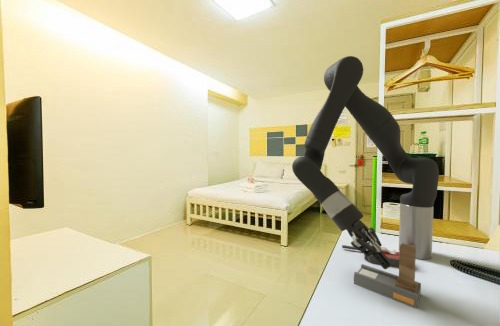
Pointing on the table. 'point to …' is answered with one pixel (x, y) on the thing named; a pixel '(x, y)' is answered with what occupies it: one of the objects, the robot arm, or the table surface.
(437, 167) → the robot arm
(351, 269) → the table surface
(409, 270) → the brown wooden block
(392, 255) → the walkie-talkie
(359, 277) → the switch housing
